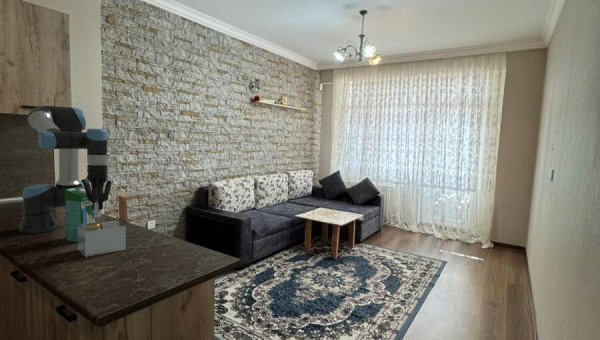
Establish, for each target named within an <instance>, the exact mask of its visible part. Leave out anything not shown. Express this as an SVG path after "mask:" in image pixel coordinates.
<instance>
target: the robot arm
mask: <svg viewBox="0 0 600 340" xmlns="http://www.w3.org/2000/svg"><path fill="white" fill-rule="evenodd" d="M27 122H28V124H29V126H30V127H31V128H32V129H34V130H36V131H37V133H38V136H37V137H38V138H37V139H38V140H37V141H38V146H39V148H41V149H43V150H46V149H47V150H58V152H59V153H58V174H59V175H58V177H59V179H58V180H57V181H55V185H54V186H52V185H51V183H42V184H41V183H40V184H35V185H29V186H27V187H25V188H24V189H23V190H22V196H21V197H22V198H21V199H22V208H23V209H22V210H23V217H22V219H21V222H20V225H19V233H22V234H39V233H46V232H50V231H53V230H55V229H57V222H56V220H55V218H54V216H53V212H52V210H53V209H58V208H65V190H66V189H71V188H77V187H82V188H85V192H86V195H87V199H88V201H91V202H92V203H93V210H94V217H95V218H96V219H98V218H101V217H102V210H103V209H104V202H106V201H108V200H109V196H110V192H111V189H112V188H111V187H112V185H113V183H114V180H113V179H112V180H111V179H110V178H109V176H108V132H107V130H106V129H103V128H87V120H86V116H85V114H84V112H83V110H82V109H81V108H78V107H71V106H56V105H41V106H38V107H35V108H33V109H32V110H30V111H29V113H27ZM86 128H87V129H86ZM85 130H86V131H85ZM83 131H84V132H83ZM79 150H86V157H87V158H86V161H87V162H86V163H87V166H86V169H87V171H86V172H87V175H86V178H84V179H81V180H80V179H79Z"/></svg>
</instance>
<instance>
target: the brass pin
mask: <svg viewBox="0 0 600 340" xmlns="http://www.w3.org/2000/svg"><path fill="white" fill-rule="evenodd" d="M101 227H103V223H102V222H98V221H97V222H96V223H89V224H86V229H98V228H101Z"/></svg>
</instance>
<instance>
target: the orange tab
mask: <svg viewBox="0 0 600 340" xmlns="http://www.w3.org/2000/svg"><path fill="white" fill-rule="evenodd" d="M117 197H118V214H119V215H118V220H119V222H120V223H122V224H123V225H129V221H128V203H127V200H128V199H127V197H126V196H123V195H121V194H118V196H117Z"/></svg>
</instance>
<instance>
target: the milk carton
mask: <svg viewBox="0 0 600 340" xmlns="http://www.w3.org/2000/svg"><path fill="white" fill-rule="evenodd" d="M64 208H65V211H64V212H65V235H66V236H65V240H66V241H70V242H75V243H76V242H77V243H78V226H80V225H86V224H89V223H96V222H98V221H97V220H98V219H97V218H95V217H94V210H93V203H92V202H91V201H88V199H87V195H86V192H85V188H82V187H77V188H71V189H66V190H65V207H64Z"/></svg>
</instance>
